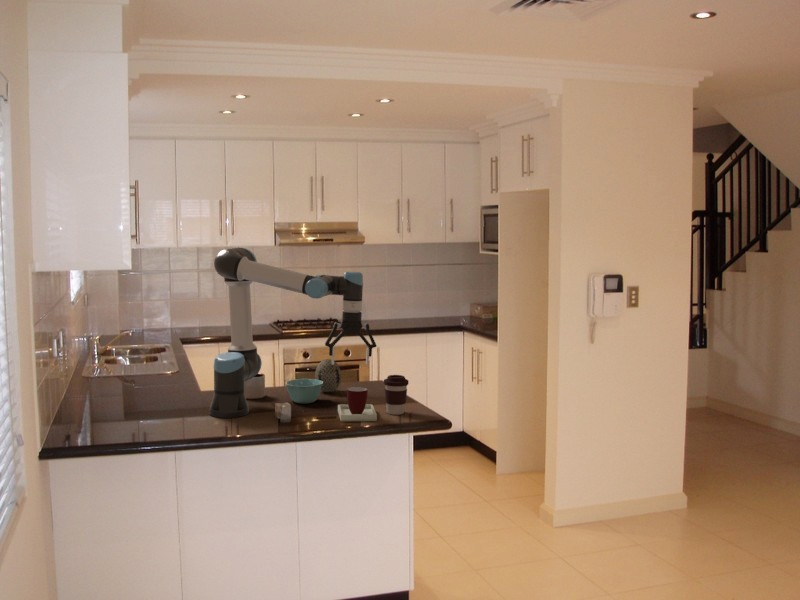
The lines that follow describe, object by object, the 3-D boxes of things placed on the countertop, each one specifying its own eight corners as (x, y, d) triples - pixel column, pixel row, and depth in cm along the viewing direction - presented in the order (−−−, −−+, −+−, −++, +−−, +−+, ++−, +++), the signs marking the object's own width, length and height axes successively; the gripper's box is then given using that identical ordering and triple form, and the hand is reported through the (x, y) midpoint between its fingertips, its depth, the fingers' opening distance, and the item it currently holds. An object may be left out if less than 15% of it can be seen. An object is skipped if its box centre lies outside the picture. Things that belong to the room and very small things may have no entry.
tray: (340, 421, 316) (340, 415, 315) (337, 410, 332) (337, 404, 332) (376, 421, 318) (377, 414, 317) (372, 410, 334) (372, 404, 334)
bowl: (279, 403, 342) (279, 384, 342) (294, 395, 357) (295, 377, 356) (313, 407, 338) (314, 387, 337) (328, 398, 353) (328, 380, 352)
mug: (347, 409, 330) (348, 385, 329) (367, 410, 330) (368, 385, 329) (345, 416, 320) (346, 391, 318) (366, 416, 320) (366, 391, 318)
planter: (235, 398, 349) (235, 376, 348) (245, 393, 360) (245, 371, 359) (258, 400, 347) (258, 378, 346) (268, 395, 357) (269, 373, 356)
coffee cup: (379, 410, 334) (380, 374, 332) (402, 409, 338) (403, 373, 336) (388, 416, 325) (388, 379, 323) (411, 415, 328) (412, 378, 327)
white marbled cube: (278, 418, 317) (278, 406, 317) (275, 415, 322) (275, 403, 321) (290, 417, 319) (291, 405, 319) (287, 414, 324) (287, 402, 323)
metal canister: (280, 422, 312) (280, 407, 311) (280, 419, 316) (280, 404, 315) (291, 422, 312) (291, 407, 312) (290, 419, 316) (291, 404, 316)
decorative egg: (330, 396, 358) (331, 362, 356) (309, 392, 364) (309, 359, 362) (346, 391, 368) (346, 358, 366) (325, 388, 374) (325, 355, 372)
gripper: (320, 311, 317) (318, 365, 319) (384, 313, 320) (382, 366, 323) (320, 308, 324) (318, 361, 327) (382, 310, 328) (380, 363, 330)
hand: (350, 364), depth 325 cm, fingers open, 13 cm apart
